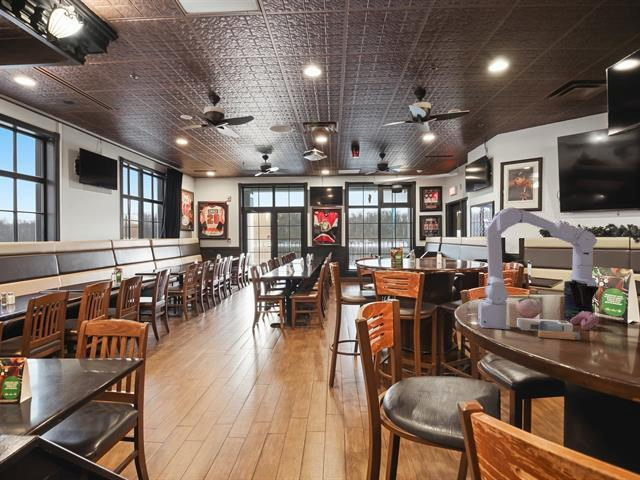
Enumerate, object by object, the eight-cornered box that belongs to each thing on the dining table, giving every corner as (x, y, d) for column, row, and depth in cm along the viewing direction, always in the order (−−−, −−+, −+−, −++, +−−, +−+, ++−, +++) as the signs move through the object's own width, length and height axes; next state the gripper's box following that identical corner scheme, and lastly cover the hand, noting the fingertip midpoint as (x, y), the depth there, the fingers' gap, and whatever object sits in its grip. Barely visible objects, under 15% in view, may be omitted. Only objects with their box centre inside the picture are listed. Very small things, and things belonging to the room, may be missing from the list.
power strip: (521, 330, 127) (522, 320, 127) (516, 325, 133) (517, 316, 133) (573, 333, 123) (573, 323, 123) (565, 328, 129) (565, 319, 129)
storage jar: (585, 323, 137) (586, 285, 137) (558, 318, 146) (558, 281, 145) (598, 320, 142) (598, 283, 142) (570, 315, 151) (571, 280, 150)
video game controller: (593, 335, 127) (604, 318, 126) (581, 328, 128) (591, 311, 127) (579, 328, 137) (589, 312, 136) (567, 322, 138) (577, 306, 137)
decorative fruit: (530, 316, 148) (531, 292, 148) (545, 321, 140) (546, 296, 140) (510, 317, 147) (510, 293, 146) (524, 322, 138) (524, 296, 138)
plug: (546, 337, 119) (546, 325, 119) (539, 331, 126) (539, 320, 126) (563, 338, 118) (564, 326, 118) (555, 332, 124) (555, 321, 124)
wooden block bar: (539, 337, 118) (539, 330, 118) (537, 335, 119) (537, 328, 119) (581, 340, 115) (581, 332, 115) (578, 338, 116) (578, 331, 116)
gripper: (606, 267, 117) (605, 308, 117) (586, 263, 131) (585, 300, 131) (581, 266, 119) (580, 307, 119) (564, 263, 133) (563, 299, 133)
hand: (581, 303), depth 125 cm, fingers open, 7 cm apart
